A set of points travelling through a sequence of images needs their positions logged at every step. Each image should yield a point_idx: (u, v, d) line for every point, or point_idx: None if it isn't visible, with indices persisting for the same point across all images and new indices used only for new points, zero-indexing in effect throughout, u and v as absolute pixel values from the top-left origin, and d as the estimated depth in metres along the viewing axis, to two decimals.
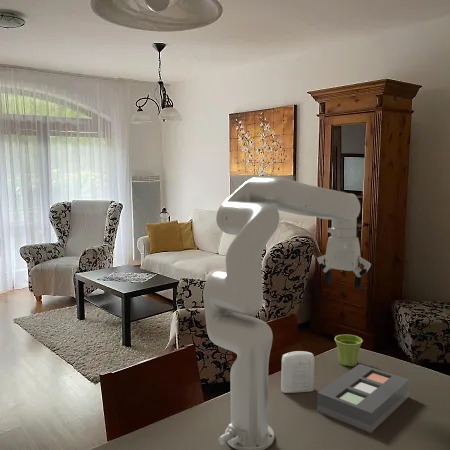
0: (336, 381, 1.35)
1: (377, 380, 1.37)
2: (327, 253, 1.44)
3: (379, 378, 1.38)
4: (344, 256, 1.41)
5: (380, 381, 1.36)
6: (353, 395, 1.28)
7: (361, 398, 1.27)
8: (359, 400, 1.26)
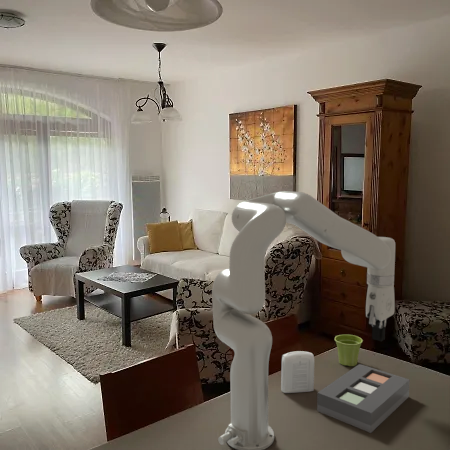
0: (336, 381, 1.35)
1: (377, 380, 1.37)
2: (382, 306, 1.30)
3: (379, 378, 1.38)
4: (391, 302, 1.34)
5: (380, 381, 1.36)
6: (353, 395, 1.28)
7: (361, 398, 1.27)
8: (359, 400, 1.26)
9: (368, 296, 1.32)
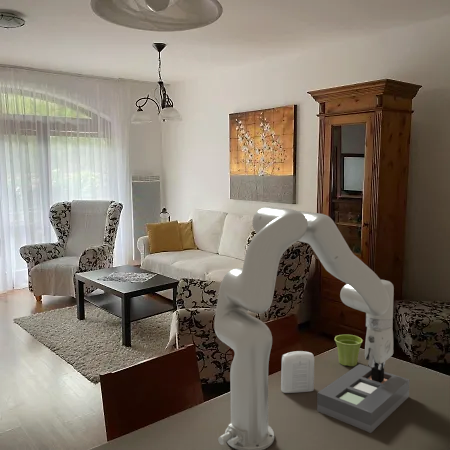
0: (336, 381, 1.35)
1: None
2: (380, 349, 1.32)
3: None
4: (389, 344, 1.36)
5: None
6: (353, 395, 1.28)
7: (361, 398, 1.27)
8: (359, 400, 1.26)
9: (367, 339, 1.34)
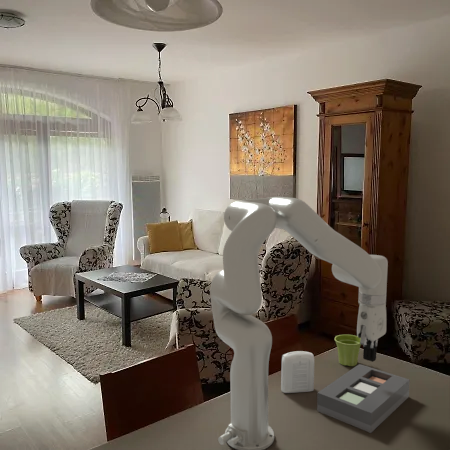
0: (336, 381, 1.35)
1: None
2: (373, 326, 1.27)
3: (379, 381, 1.39)
4: (382, 322, 1.31)
5: None
6: (353, 395, 1.28)
7: (361, 398, 1.27)
8: (359, 400, 1.26)
9: (359, 315, 1.29)
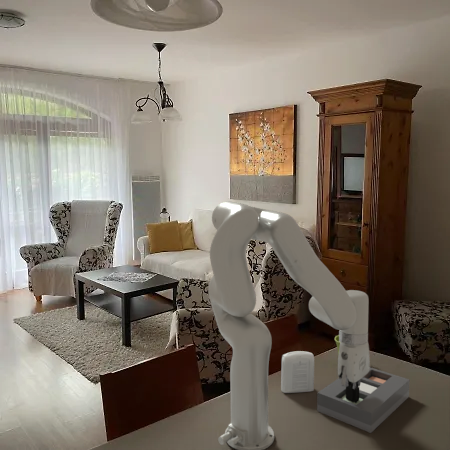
0: (336, 381, 1.35)
1: None
2: (354, 367, 1.20)
3: (379, 381, 1.39)
4: (365, 361, 1.24)
5: None
6: None
7: (361, 400, 1.27)
8: (359, 402, 1.26)
9: (340, 355, 1.22)
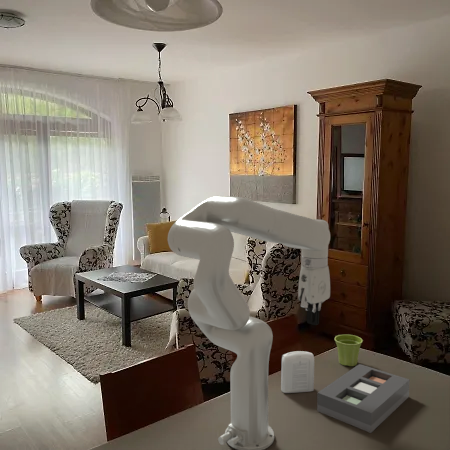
0: (336, 381, 1.35)
1: None
2: (312, 288, 1.29)
3: (379, 381, 1.39)
4: (324, 286, 1.32)
5: None
6: (353, 399, 1.28)
7: None
8: None
9: (300, 279, 1.31)
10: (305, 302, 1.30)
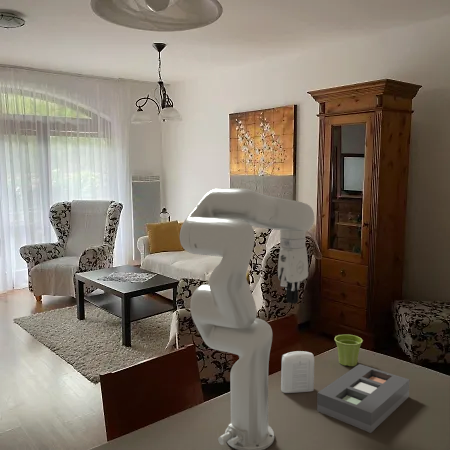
0: (336, 381, 1.35)
1: None
2: (291, 268, 1.34)
3: (379, 381, 1.39)
4: (303, 265, 1.39)
5: None
6: (353, 399, 1.28)
7: None
8: None
9: (279, 259, 1.37)
10: (284, 281, 1.36)
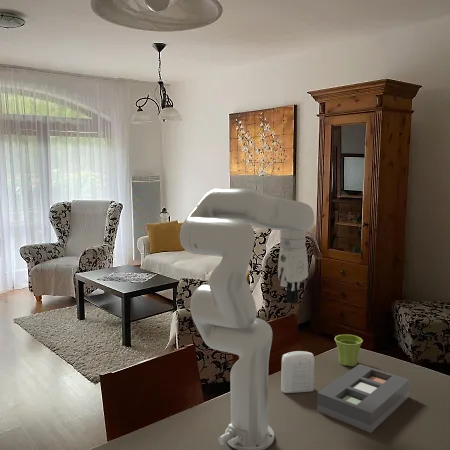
0: (336, 381, 1.35)
1: None
2: (291, 268, 1.34)
3: (379, 381, 1.39)
4: (303, 265, 1.39)
5: None
6: (353, 399, 1.28)
7: None
8: None
9: (279, 259, 1.37)
10: (284, 281, 1.36)
